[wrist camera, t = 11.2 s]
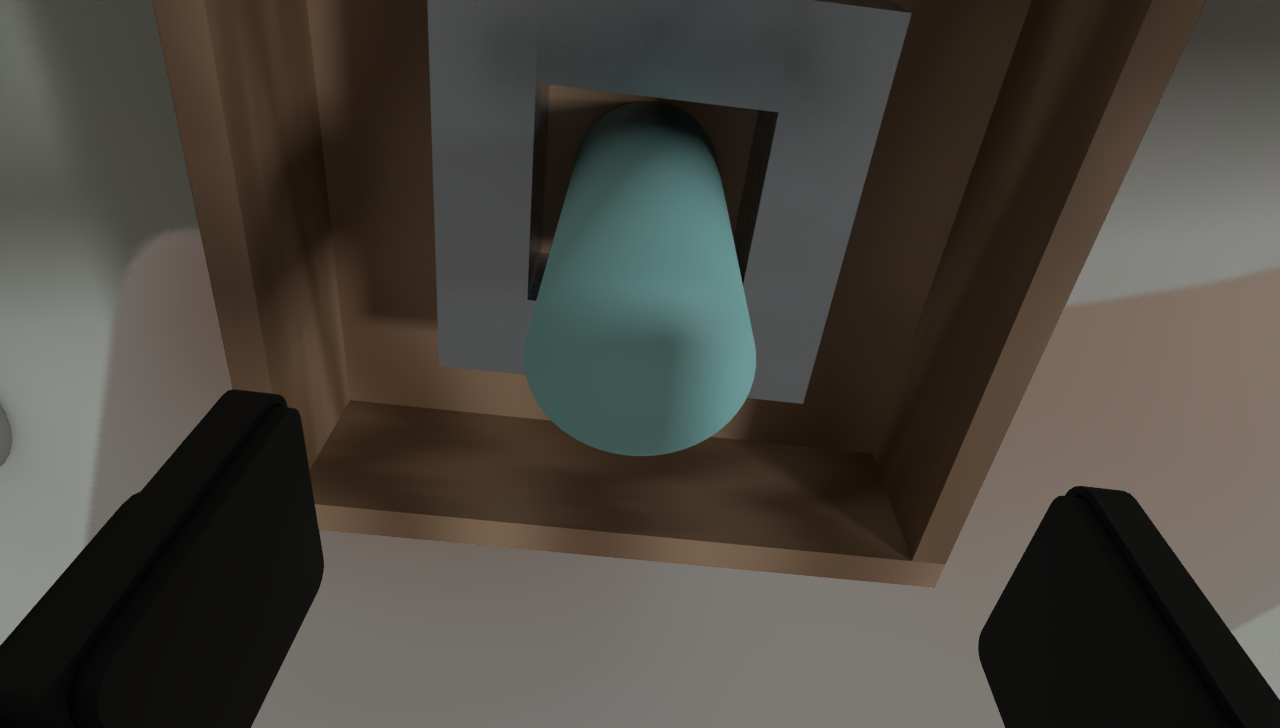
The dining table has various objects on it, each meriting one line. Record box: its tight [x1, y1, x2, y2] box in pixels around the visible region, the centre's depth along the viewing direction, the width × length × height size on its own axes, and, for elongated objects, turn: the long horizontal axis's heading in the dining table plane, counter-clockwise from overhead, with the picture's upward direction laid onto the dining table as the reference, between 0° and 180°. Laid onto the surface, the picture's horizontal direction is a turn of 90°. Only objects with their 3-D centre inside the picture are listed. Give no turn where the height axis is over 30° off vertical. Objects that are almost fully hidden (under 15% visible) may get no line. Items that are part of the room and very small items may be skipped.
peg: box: [524, 101, 756, 456], centre depth 18 cm, size 4×4×10 cm
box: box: [153, 0, 1206, 587], centre depth 20 cm, size 20×20×6 cm
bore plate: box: [427, 0, 912, 404], centre depth 21 cm, size 10×10×3 cm
